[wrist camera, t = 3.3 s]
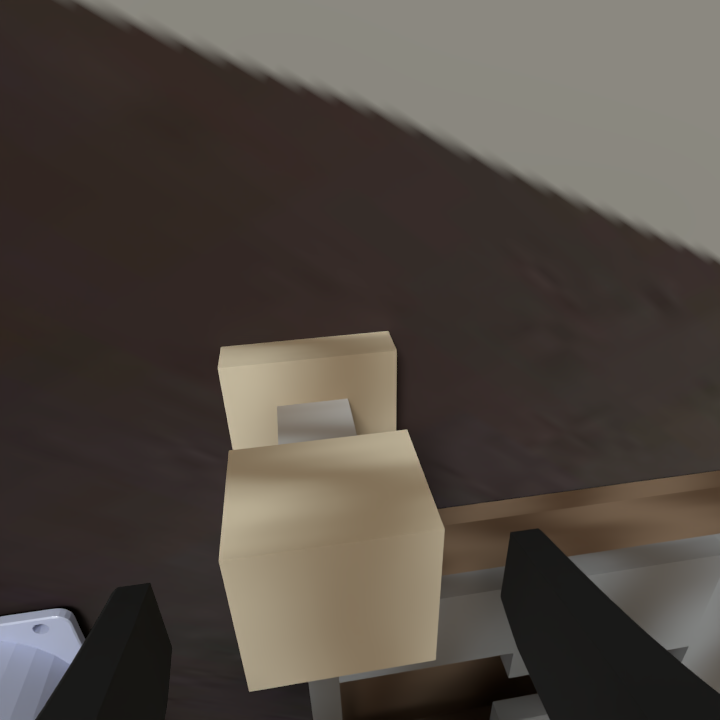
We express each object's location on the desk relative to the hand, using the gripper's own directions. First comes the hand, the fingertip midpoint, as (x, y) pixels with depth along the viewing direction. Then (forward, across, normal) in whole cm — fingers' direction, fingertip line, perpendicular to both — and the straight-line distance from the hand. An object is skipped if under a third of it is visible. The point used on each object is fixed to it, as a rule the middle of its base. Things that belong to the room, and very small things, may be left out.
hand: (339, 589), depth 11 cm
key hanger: (+7, 0, 0) cm, 7 cm away
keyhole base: (+7, -8, +12) cm, 16 cm away
